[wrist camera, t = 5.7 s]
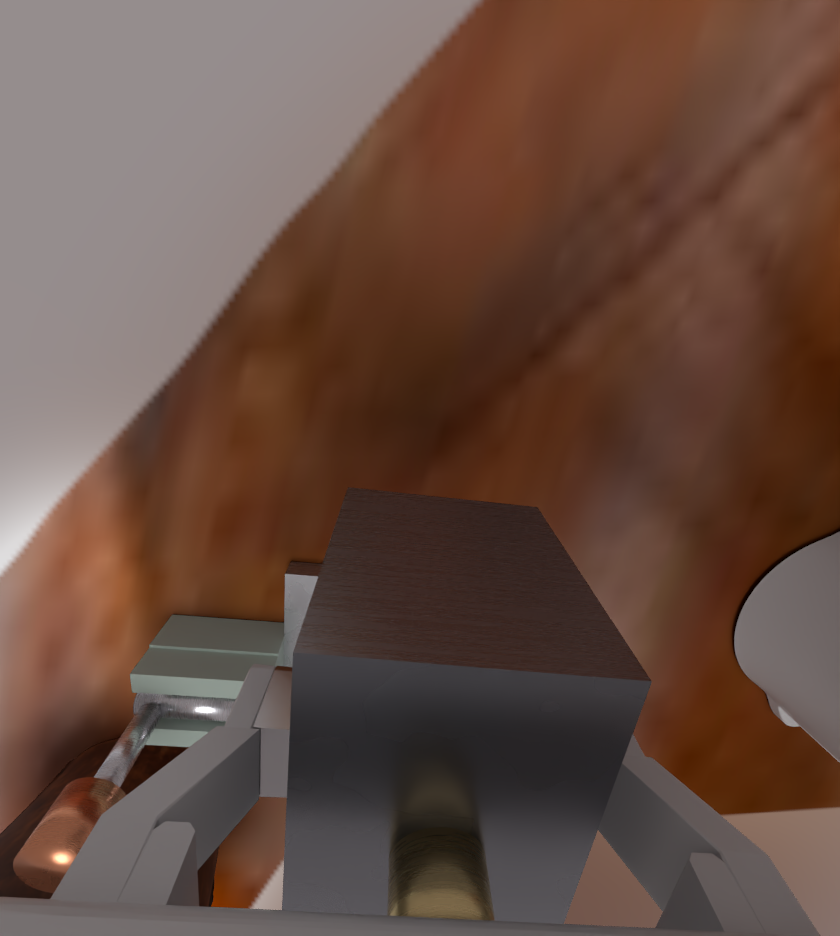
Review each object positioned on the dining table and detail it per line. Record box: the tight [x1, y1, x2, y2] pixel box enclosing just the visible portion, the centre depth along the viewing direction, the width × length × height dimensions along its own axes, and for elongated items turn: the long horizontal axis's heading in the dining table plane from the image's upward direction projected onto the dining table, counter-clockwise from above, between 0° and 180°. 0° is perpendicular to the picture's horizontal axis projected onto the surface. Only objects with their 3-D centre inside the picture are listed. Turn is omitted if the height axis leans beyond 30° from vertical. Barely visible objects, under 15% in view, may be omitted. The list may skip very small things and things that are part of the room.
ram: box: [13, 693, 236, 893], centre depth 25 cm, size 8×3×10 cm, turn 83°
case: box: [0, 738, 219, 907], centre depth 29 cm, size 18×20×18 cm
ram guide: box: [130, 615, 284, 747], centre depth 30 cm, size 8×6×5 cm
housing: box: [282, 487, 652, 924], centre depth 10 cm, size 5×8×8 cm, turn 173°
